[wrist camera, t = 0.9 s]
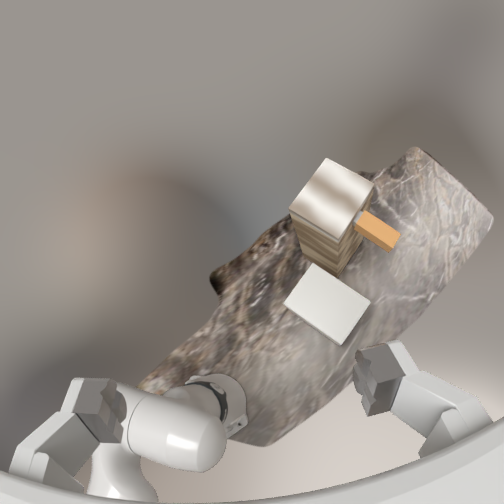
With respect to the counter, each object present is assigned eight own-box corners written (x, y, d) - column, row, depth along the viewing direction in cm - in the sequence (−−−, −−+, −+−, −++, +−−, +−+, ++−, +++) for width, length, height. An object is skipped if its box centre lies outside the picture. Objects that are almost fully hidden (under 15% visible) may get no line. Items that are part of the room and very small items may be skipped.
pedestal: (339, 346, 71) (341, 345, 56) (292, 313, 76) (283, 303, 62) (363, 311, 72) (371, 301, 57) (316, 279, 77) (312, 262, 63)
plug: (388, 252, 52) (392, 248, 49) (328, 212, 56) (328, 206, 53) (396, 239, 52) (401, 234, 49) (337, 200, 56) (338, 193, 53)
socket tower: (336, 278, 76) (338, 238, 49) (304, 256, 79) (288, 208, 53) (362, 240, 77) (374, 183, 51) (330, 219, 81) (326, 157, 54)
